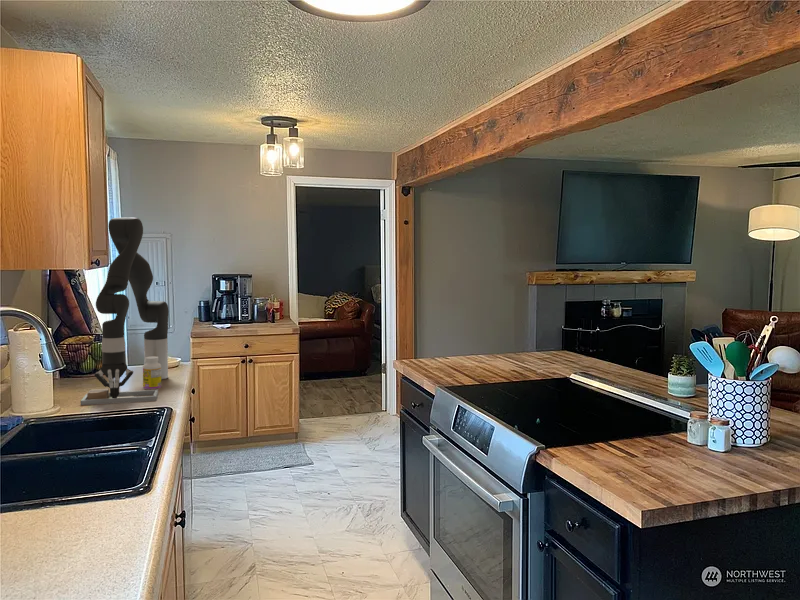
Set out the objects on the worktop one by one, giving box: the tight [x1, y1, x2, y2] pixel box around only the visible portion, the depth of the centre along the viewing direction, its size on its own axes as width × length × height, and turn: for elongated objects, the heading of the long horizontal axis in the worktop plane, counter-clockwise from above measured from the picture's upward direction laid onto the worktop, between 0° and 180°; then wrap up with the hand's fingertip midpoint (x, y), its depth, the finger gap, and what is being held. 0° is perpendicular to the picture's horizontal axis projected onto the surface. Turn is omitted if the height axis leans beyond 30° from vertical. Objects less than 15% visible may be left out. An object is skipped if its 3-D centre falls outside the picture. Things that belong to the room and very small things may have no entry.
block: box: [86, 388, 110, 400], centre depth 207 cm, size 6×6×4 cm
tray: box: [80, 389, 159, 406], centre depth 210 cm, size 11×24×2 cm, turn 109°
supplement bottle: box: [142, 356, 162, 390], centre depth 229 cm, size 7×7×13 cm
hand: (114, 397), depth 209 cm, fingers closed
